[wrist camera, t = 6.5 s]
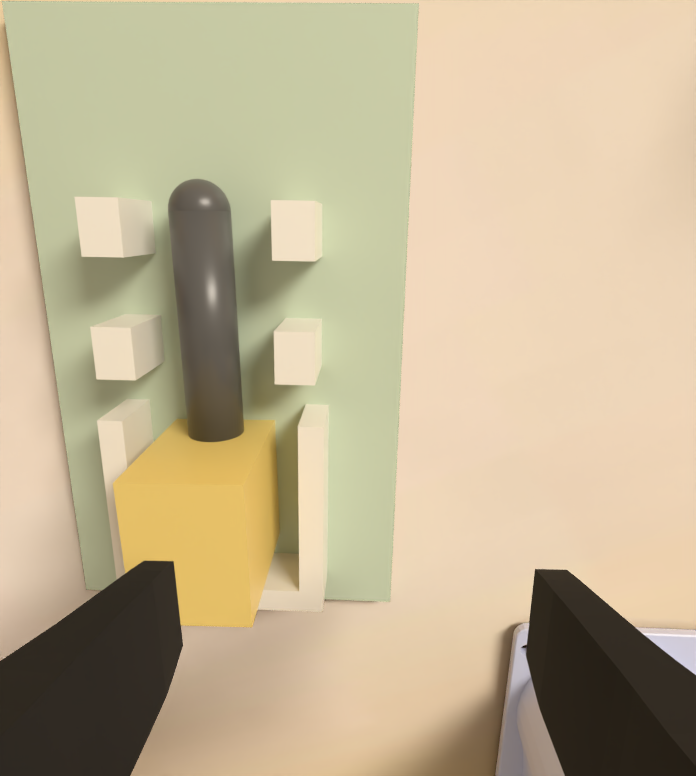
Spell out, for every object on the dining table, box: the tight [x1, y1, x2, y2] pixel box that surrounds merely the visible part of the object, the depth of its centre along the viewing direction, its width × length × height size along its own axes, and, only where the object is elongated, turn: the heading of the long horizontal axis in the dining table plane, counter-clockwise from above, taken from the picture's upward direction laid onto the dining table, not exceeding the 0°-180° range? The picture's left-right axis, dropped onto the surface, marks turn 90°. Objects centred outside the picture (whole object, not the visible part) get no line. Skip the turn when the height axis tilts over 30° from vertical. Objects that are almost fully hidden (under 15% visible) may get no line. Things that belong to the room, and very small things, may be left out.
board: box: [2, 1, 419, 612], centre depth 17 cm, size 20×12×3 cm, turn 179°
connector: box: [113, 179, 280, 627], centre depth 16 cm, size 12×4×5 cm, turn 0°
